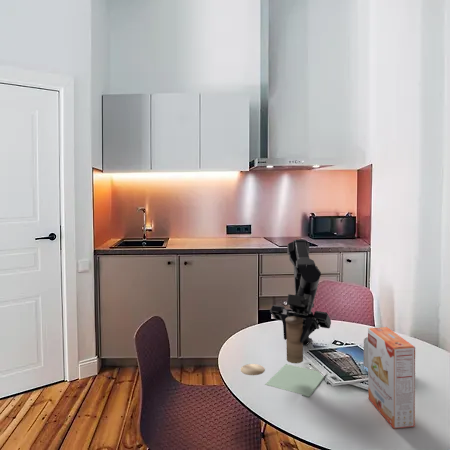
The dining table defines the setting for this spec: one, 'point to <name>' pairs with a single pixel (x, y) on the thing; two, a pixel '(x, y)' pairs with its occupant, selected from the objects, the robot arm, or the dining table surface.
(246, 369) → the coaster
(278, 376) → the mat
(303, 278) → the robot arm
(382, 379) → the cracker box
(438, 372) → the dining table surface
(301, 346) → the canister
